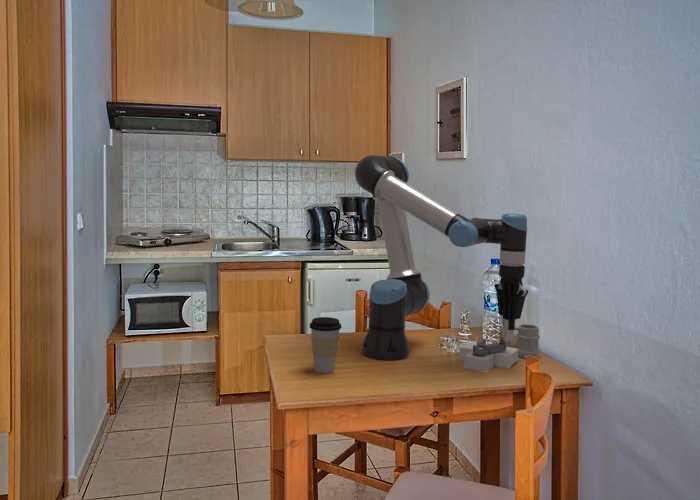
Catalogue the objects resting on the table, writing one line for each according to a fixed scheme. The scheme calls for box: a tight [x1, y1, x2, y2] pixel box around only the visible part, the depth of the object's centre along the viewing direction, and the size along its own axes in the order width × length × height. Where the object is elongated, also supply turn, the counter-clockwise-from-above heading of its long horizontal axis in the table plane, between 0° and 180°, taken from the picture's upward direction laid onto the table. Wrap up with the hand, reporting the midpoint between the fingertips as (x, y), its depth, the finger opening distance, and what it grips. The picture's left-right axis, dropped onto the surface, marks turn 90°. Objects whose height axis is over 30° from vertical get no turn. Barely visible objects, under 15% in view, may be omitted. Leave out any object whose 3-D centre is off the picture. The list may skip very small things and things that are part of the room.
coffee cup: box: [309, 316, 343, 374], centre depth 185 cm, size 9×9×15 cm
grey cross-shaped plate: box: [458, 338, 519, 369], centre depth 201 cm, size 16×10×6 cm, turn 60°
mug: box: [506, 323, 540, 358], centre depth 208 cm, size 8×12×12 cm, turn 87°
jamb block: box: [463, 343, 495, 373], centre depth 193 cm, size 7×7×8 cm
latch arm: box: [473, 327, 508, 356], centre depth 195 cm, size 14×4×7 cm, turn 123°
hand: (508, 339), depth 196 cm, fingers closed
